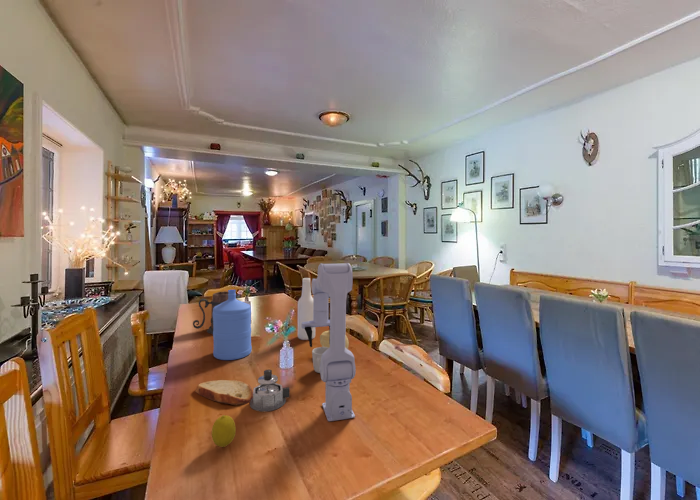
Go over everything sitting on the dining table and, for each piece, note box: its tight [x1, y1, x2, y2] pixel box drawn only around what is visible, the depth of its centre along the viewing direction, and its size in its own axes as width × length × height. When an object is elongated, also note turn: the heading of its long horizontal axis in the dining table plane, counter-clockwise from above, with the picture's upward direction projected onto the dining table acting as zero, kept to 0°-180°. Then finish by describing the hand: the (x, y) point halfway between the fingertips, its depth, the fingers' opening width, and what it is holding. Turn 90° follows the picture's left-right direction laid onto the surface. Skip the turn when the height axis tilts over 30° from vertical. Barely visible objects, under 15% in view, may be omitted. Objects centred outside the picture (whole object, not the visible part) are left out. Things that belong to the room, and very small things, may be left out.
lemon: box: [211, 414, 237, 448], centre depth 80 cm, size 6×6×8 cm
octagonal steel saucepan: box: [252, 382, 291, 409], centre depth 102 cm, size 9×11×4 cm
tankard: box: [192, 290, 228, 335], centre depth 174 cm, size 24×17×20 cm
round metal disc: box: [249, 398, 287, 413], centre depth 102 cm, size 11×11×1 cm
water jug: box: [212, 289, 252, 361], centre depth 141 cm, size 16×16×28 cm
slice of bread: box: [195, 379, 253, 406], centre depth 106 cm, size 18×18×4 cm
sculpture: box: [319, 330, 350, 350], centre depth 142 cm, size 12×12×11 cm
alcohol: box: [297, 277, 316, 341], centre depth 163 cm, size 9×9×30 cm
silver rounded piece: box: [257, 369, 279, 396], centre depth 101 cm, size 7×7×7 cm
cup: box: [311, 346, 328, 374], centre depth 123 cm, size 11×8×8 cm
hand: (320, 345), depth 124 cm, fingers open, 7 cm apart
